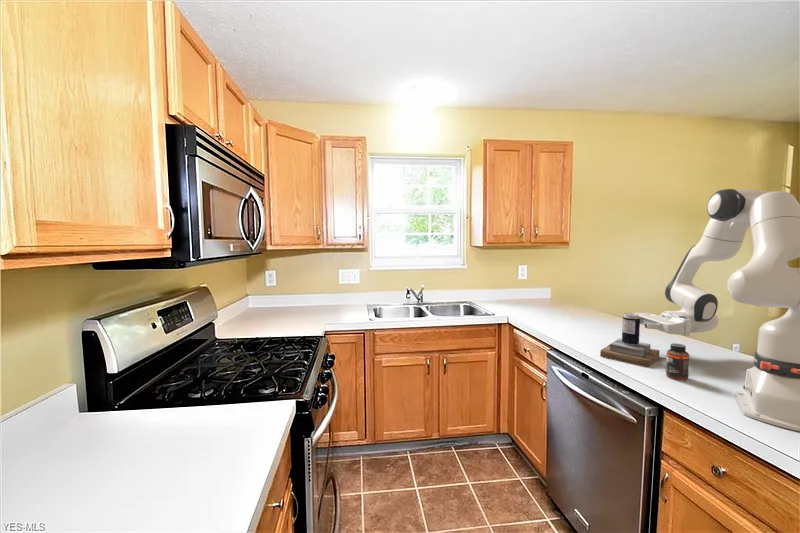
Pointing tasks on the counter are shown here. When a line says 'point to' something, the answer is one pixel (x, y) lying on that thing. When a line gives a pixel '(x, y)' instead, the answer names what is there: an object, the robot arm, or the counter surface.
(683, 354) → the supplement bottle
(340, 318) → the counter surface
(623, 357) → the plinth
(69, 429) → the counter surface
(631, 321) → the beverage can
